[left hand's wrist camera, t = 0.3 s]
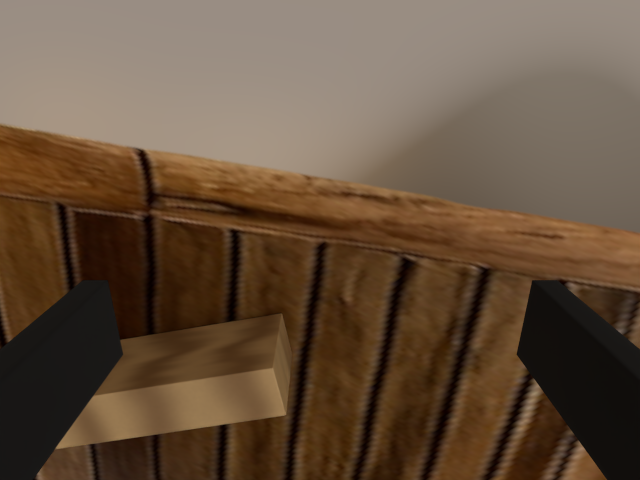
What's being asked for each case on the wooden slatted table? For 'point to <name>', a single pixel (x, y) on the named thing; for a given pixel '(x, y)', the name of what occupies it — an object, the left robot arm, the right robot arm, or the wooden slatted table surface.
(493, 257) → the wooden slatted table surface
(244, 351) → the bar
